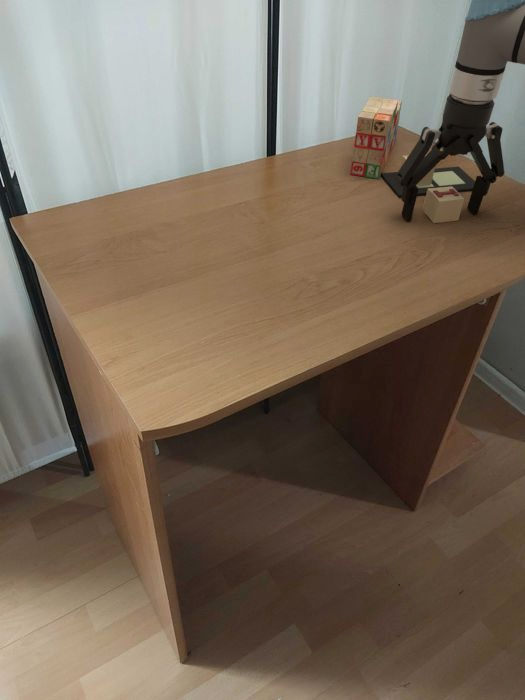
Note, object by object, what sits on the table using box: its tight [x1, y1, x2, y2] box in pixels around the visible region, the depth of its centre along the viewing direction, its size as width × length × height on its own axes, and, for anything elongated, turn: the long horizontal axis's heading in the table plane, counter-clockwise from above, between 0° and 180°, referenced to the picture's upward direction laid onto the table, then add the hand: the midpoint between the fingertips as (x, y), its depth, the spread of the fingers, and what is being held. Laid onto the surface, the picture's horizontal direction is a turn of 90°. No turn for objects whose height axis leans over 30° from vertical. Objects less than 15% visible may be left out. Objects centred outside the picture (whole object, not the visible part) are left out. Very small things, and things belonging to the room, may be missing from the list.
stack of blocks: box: [349, 96, 403, 180], centre depth 116 cm, size 21×6×12 cm, turn 161°
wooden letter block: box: [422, 186, 465, 224], centre depth 100 cm, size 5×5×5 cm
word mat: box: [380, 166, 475, 199], centre depth 111 cm, size 10×18×1 cm, turn 102°
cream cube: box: [400, 154, 436, 186], centre depth 109 cm, size 5×5×5 cm
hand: (439, 214), depth 102 cm, fingers open, 13 cm apart
